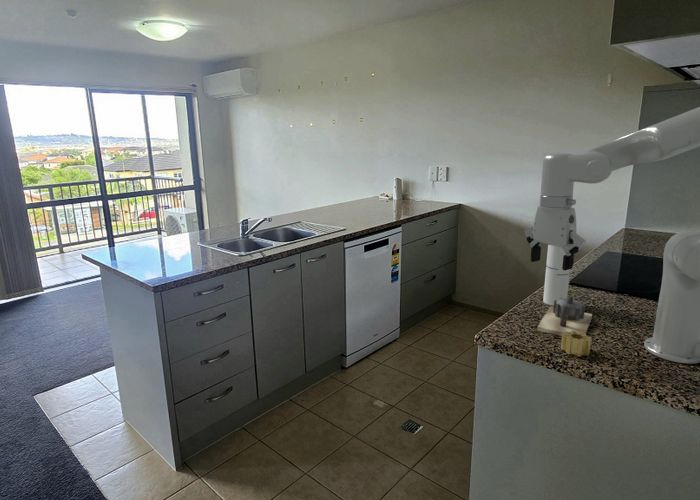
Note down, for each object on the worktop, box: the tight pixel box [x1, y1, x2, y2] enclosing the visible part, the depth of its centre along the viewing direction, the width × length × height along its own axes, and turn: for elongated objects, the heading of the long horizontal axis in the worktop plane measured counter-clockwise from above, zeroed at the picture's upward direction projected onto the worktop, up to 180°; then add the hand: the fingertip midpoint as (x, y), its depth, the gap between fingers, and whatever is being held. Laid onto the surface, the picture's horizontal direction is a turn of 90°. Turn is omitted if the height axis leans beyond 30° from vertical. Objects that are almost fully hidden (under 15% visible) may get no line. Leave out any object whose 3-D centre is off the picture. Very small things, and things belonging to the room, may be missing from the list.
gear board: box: [536, 295, 593, 337], centre depth 127 cm, size 12×18×7 cm, turn 145°
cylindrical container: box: [542, 245, 571, 307], centre depth 141 cm, size 7×7×25 cm
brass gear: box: [560, 331, 593, 358], centre depth 112 cm, size 7×7×4 cm
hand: (550, 265), depth 115 cm, fingers open, 9 cm apart
